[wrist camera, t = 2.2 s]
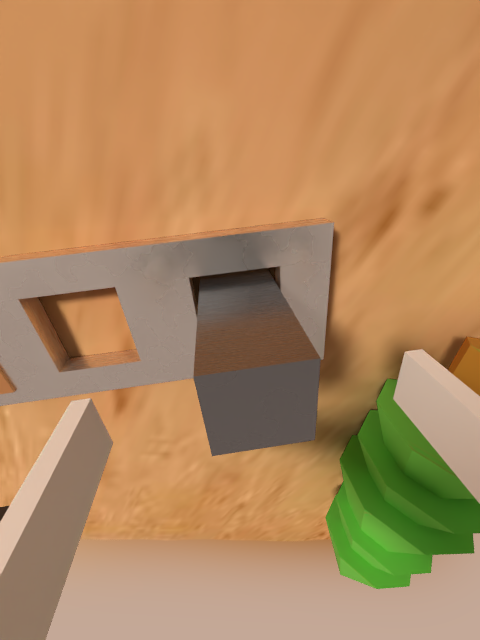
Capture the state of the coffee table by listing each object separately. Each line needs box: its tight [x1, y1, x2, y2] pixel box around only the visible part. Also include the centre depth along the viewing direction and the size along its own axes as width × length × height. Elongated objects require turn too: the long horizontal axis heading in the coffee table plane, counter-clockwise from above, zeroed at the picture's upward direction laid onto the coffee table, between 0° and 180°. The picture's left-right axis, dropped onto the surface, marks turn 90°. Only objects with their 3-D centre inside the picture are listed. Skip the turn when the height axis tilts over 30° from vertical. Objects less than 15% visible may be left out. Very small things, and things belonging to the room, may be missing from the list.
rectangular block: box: [193, 268, 321, 456], centre depth 15 cm, size 4×4×10 cm
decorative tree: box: [326, 337, 480, 589], centre depth 24 cm, size 11×12×30 cm
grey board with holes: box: [0, 218, 334, 406], centre depth 18 cm, size 10×32×2 cm, turn 95°
